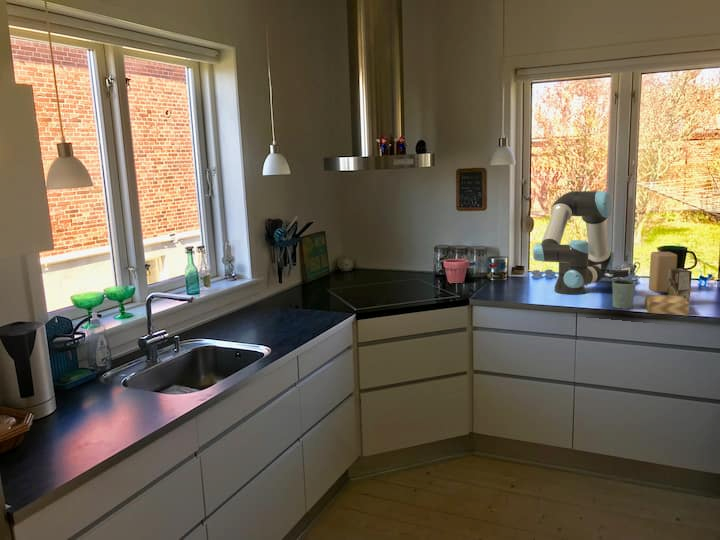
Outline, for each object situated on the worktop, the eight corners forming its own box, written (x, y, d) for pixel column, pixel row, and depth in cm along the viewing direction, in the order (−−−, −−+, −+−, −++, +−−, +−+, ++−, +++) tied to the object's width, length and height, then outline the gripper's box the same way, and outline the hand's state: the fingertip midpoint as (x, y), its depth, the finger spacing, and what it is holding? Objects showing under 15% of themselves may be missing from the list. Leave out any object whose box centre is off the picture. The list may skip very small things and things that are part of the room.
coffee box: (690, 304, 282) (692, 271, 279) (677, 305, 282) (679, 271, 279) (678, 300, 291) (680, 267, 288) (665, 301, 291) (668, 268, 288)
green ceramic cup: (626, 304, 286) (628, 279, 284) (639, 309, 277) (640, 283, 274) (606, 305, 285) (608, 280, 283) (618, 310, 275) (619, 284, 273)
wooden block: (667, 289, 317) (670, 251, 314) (675, 293, 307) (678, 254, 304) (647, 289, 318) (650, 251, 315) (655, 293, 308) (657, 254, 305)
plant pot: (444, 279, 354) (444, 258, 352) (468, 280, 352) (468, 258, 349) (442, 284, 341) (442, 262, 338) (467, 285, 338) (468, 262, 336)
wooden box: (648, 312, 269) (648, 301, 268) (644, 304, 284) (645, 294, 283) (688, 315, 264) (689, 303, 263) (682, 306, 279) (683, 295, 278)
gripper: (563, 279, 268) (588, 273, 281) (617, 287, 249) (641, 280, 262) (564, 263, 267) (589, 257, 280) (618, 269, 248) (642, 263, 261)
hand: (614, 268), depth 271 cm, fingers open, 13 cm apart
